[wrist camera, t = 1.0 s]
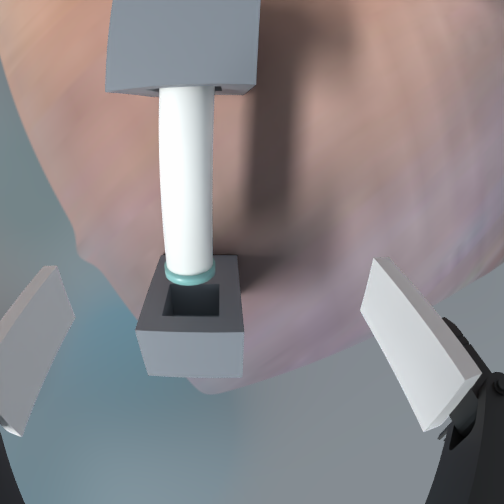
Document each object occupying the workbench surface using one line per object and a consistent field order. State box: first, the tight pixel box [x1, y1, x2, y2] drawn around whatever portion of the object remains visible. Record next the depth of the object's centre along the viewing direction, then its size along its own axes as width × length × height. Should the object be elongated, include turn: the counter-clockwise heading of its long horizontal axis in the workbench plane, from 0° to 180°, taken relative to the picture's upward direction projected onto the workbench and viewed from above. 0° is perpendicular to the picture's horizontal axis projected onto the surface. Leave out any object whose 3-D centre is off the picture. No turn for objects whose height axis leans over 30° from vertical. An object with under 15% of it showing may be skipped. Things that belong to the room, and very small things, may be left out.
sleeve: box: [105, 0, 261, 97], centre depth 18 cm, size 8×9×13 cm
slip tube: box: [159, 86, 215, 286], centre depth 19 cm, size 25×4×4 cm, turn 177°
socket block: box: [135, 255, 244, 378], centre depth 30 cm, size 6×9×13 cm, turn 87°
